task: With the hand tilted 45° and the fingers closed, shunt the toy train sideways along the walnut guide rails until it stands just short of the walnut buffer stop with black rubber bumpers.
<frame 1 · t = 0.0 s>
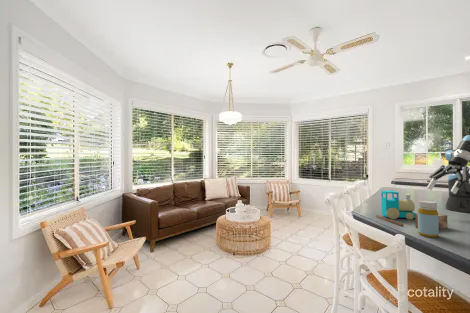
hand: (440, 190, 129), 15 cm above the counter, tool tilted 35°, fingers open, 13 cm apart
buffer stop: (431, 227, 113), on the counter
toy train: (400, 218, 132), on the counter
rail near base: (428, 219, 127), on the counter
bottle: (428, 235, 103), on the counter
rail far: (388, 221, 125), on the counter
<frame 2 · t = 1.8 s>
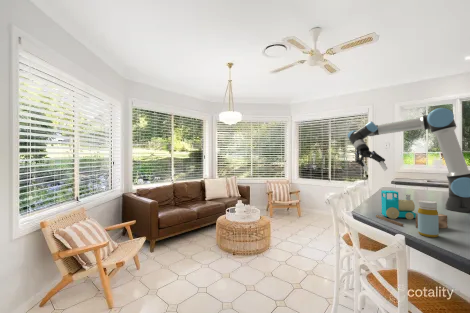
hand: (376, 169, 150), 26 cm above the counter, tool tilted 45°, fingers open, 13 cm apart
nothing on the counter moved.
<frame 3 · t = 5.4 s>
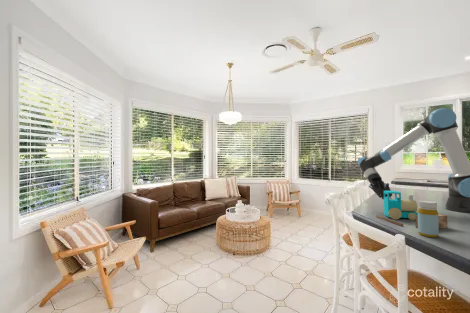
hand: (392, 206, 137), 5 cm above the counter, tool tilted 45°, fingers closed
toy train: (402, 218, 131), on the counter
everything else where it was.
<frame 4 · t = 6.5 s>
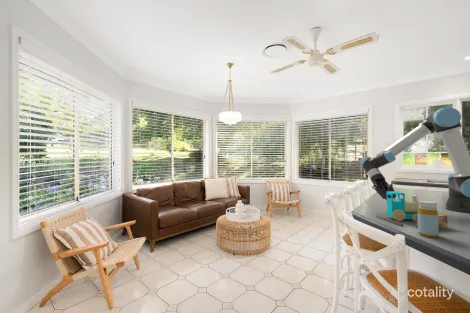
hand: (396, 208, 133), 5 cm above the counter, tool tilted 45°, fingers closed
toy train: (406, 219, 128), on the counter, touching gripper
everything else where it was.
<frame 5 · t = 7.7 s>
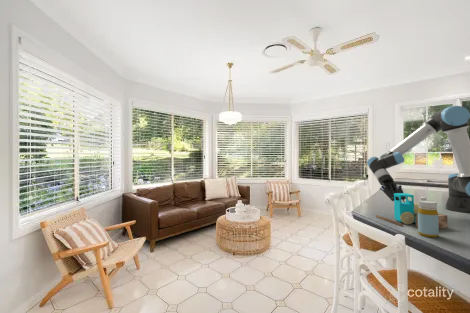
hand: (406, 210, 127), 5 cm above the counter, tool tilted 45°, fingers closed
toy train: (414, 223, 122), on the counter
everything else where it was.
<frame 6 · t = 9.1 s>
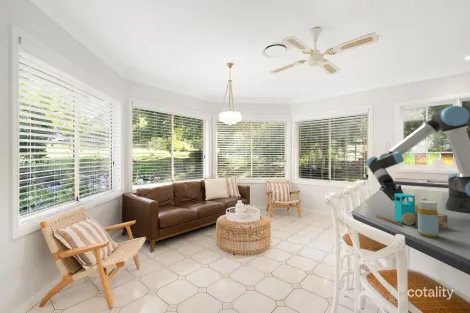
hand: (406, 210, 127), 5 cm above the counter, tool tilted 45°, fingers closed
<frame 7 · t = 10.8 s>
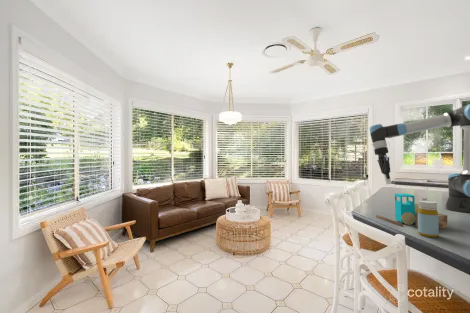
hand: (388, 184, 146), 17 cm above the counter, tool pointing down, fingers closed
nothing on the counter moved.
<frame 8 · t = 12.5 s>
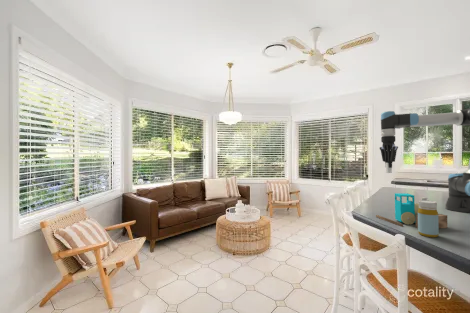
hand: (388, 172, 147), 24 cm above the counter, tool pointing down, fingers closed
nothing on the counter moved.
at the end: toy train inside the target area (1.7 cm from its centre), on the counter; toy train moved 10.3 cm from its start; toy train tilted 0° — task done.
